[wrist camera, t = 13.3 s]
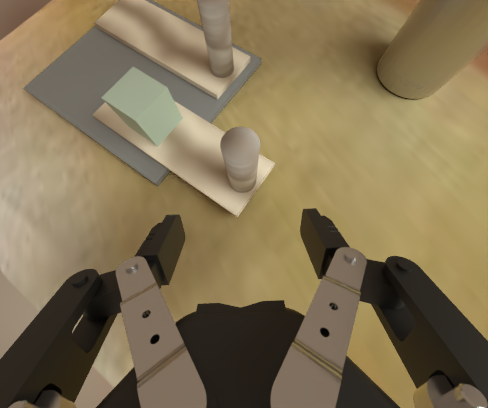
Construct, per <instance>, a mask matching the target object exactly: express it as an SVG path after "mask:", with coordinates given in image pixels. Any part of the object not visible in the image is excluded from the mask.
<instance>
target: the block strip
mask: <svg viewBox="0 0 488 408" xmlns="http://www.w3.org/2000/svg"><path fill="white" fill-rule="evenodd" d="M174 102H175V101H174ZM175 104H176V106H177V108H178V110H179V112H180V114H181V116H182V118H183V119H182V120H181V121H180V122H179V123H178V125H177V126H176V127H175V128H174V129H173V130H172V131H171V132H170V134H169V135H168V136H167V137H166V138H165V139H164V140H163V142H162V143H161V144H160V145H159V146H156V145H155V144H153V143H152V142H150V141H149V140H147V139H146V138H144V137H143V136H141V135H140V134H139V133H137V132H136V131H134V130H133V129H131V128H130V127H129V126H128V125H127V124H126V123H125V122H124V121H123V120H122V119H121V118H120V117H119V116H118V115H117V114H116V113H115V112H114V111H113V110H112V109H111V108H110V107H109V106H108V104H107V103H106V102H105V103H104V104H103V105H102V106H101V107H100V108H99V109H98V110H97V111H96V112H95V113H94V114H93V116H94V117H95V118H96V119H97V120H99V121H100V122H102V123H103V124H104V125H106V126H107V127H109V128H110V129H112V130H113V131H114V132H116V133H117V134H119V135H120V136H122V137H123V138H124V139H126V140H127V141H129V142H130V143H132V144H133V145H134V146H136V147H137V148H139V149H140V150H142V151H143V152H144V153H146V154H147V155H149V156H150V157H152V158H153V159H155V160H156V161H157V162H159V163H160V164H162V165H163V166H165V167H166V168H167V169H169V170H170V171H172V172H173V173H175V174H176V175H177V176H179V177H180V178H182V179H183V180H185V181H186V182H187V183H189V184H190V185H192V186H193V187H195V188H196V189H197V190H199V191H200V192H202V193H203V194H205V195H206V196H207V197H209V198H210V199H212V200H213V201H215V202H216V203H217V204H219V205H220V206H222V207H223V208H225V209H226V210H227V211H229V212H230V213H232V214H233V215H235V216H236V217H238V216H239V214H240V213H241V212H242V210H243V209H244V207H245V206H246V205H247V203H248V202H249V201H250V199H251V198H252V196H253V195H254V194H255V192H256V191H257V189H258V188H259V187H260V185H261V184H262V182H263V181H264V180H265V178H266V177H267V176H268V174H269V173H270V171H271V170H272V169H273V167H274V165H275V163H273V162H272V161H270V160H268V159H267V158H265V157H264V156H262V155H260V154H259V151H260V140H259V137H258V136H257V134H256V133H255V132H254V131H253V130H251V129H249V128H246V127H235V128H232V129H230V130H228V131H227V132H226V133H225V132H223V131H222V130H220V129H219V128H217V127H215V126H214V125H212V124H211V123H209V122H207V121H206V120H204V119H203V118H201V117H199V116H198V115H196V114H195V113H193V112H191V111H190V110H188V109H187V108H185V107H183V106H182V105H180V104H179V103H177V102H175Z"/></svg>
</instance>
